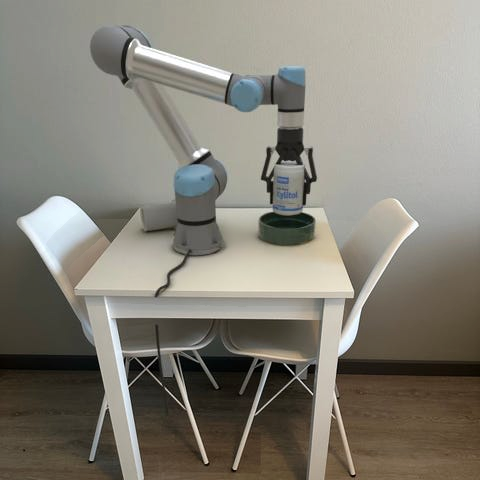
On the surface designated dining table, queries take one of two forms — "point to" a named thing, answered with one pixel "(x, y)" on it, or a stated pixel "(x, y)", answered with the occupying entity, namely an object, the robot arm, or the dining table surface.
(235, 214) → the dining table surface
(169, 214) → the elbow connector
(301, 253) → the dining table surface
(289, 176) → the supplement tub
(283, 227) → the dark green bowl
